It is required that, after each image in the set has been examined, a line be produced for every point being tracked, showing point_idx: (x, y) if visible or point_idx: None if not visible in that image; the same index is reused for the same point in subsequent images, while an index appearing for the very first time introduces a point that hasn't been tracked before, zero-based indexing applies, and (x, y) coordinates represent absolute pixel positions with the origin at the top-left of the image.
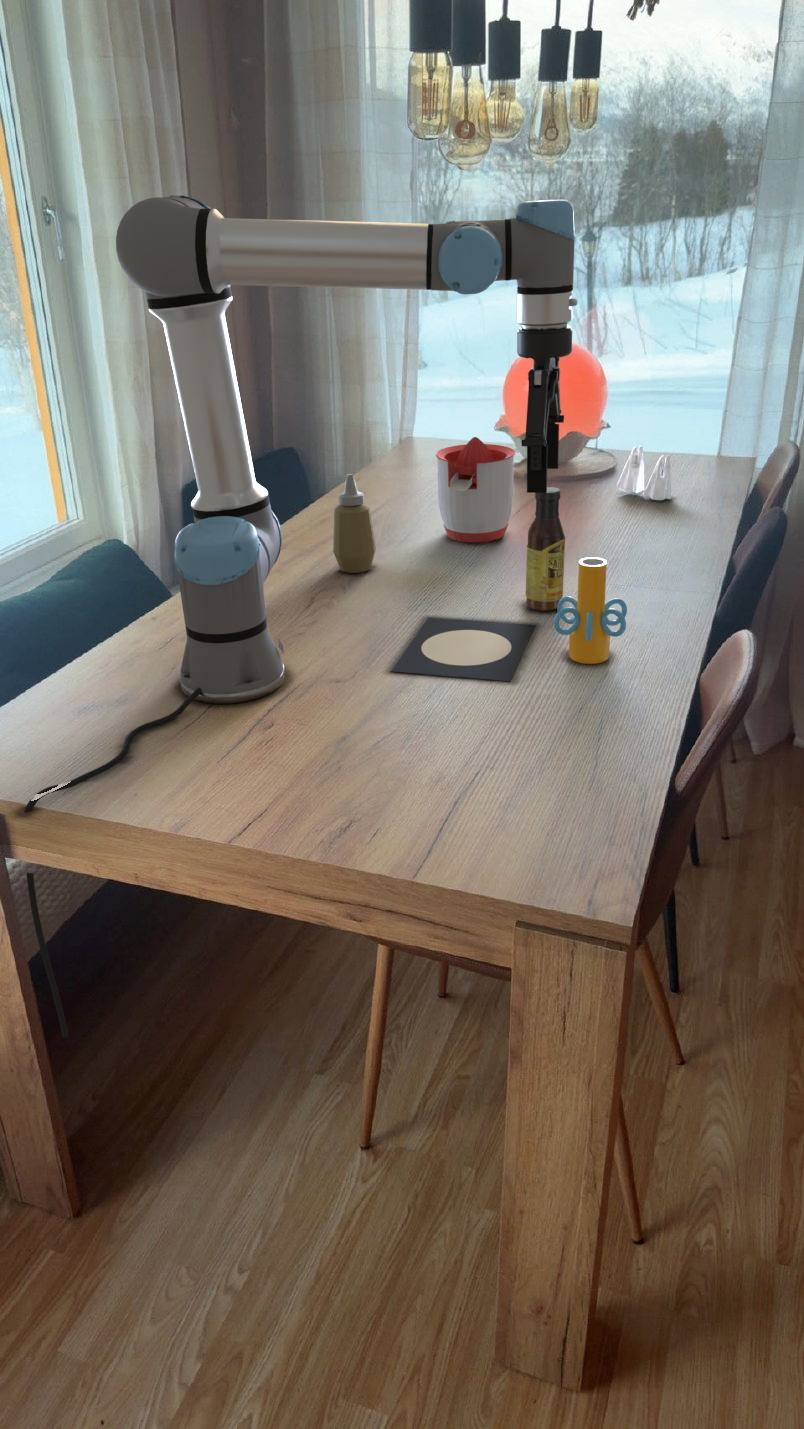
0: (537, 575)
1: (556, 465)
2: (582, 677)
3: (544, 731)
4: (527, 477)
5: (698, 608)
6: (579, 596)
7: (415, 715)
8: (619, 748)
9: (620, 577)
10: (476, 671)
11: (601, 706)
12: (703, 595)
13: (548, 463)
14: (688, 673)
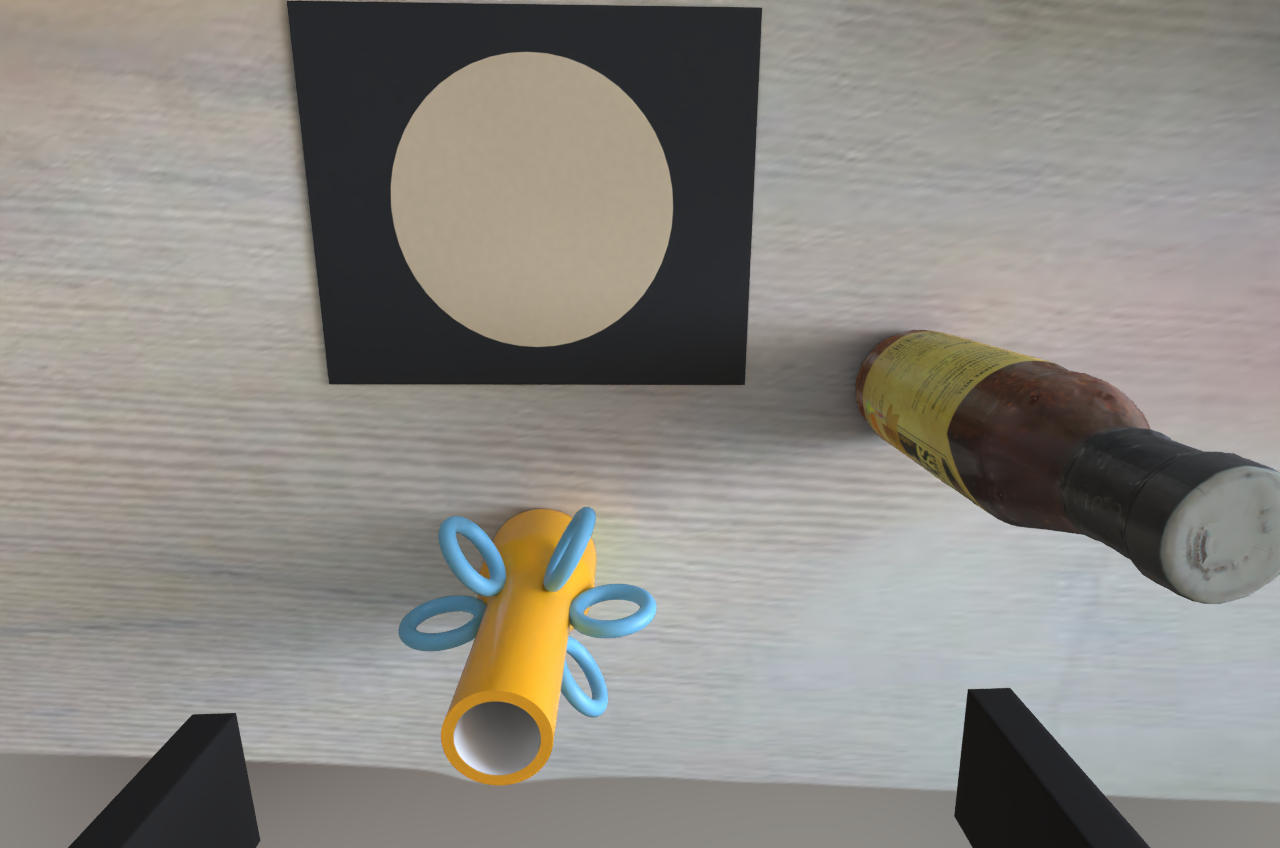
0: (903, 396)
1: (970, 828)
2: (413, 555)
3: (85, 511)
4: (101, 816)
5: (920, 774)
6: (487, 625)
7: (34, 167)
8: (73, 670)
9: None
10: (364, 277)
11: (263, 615)
12: None
13: (982, 784)
14: None
